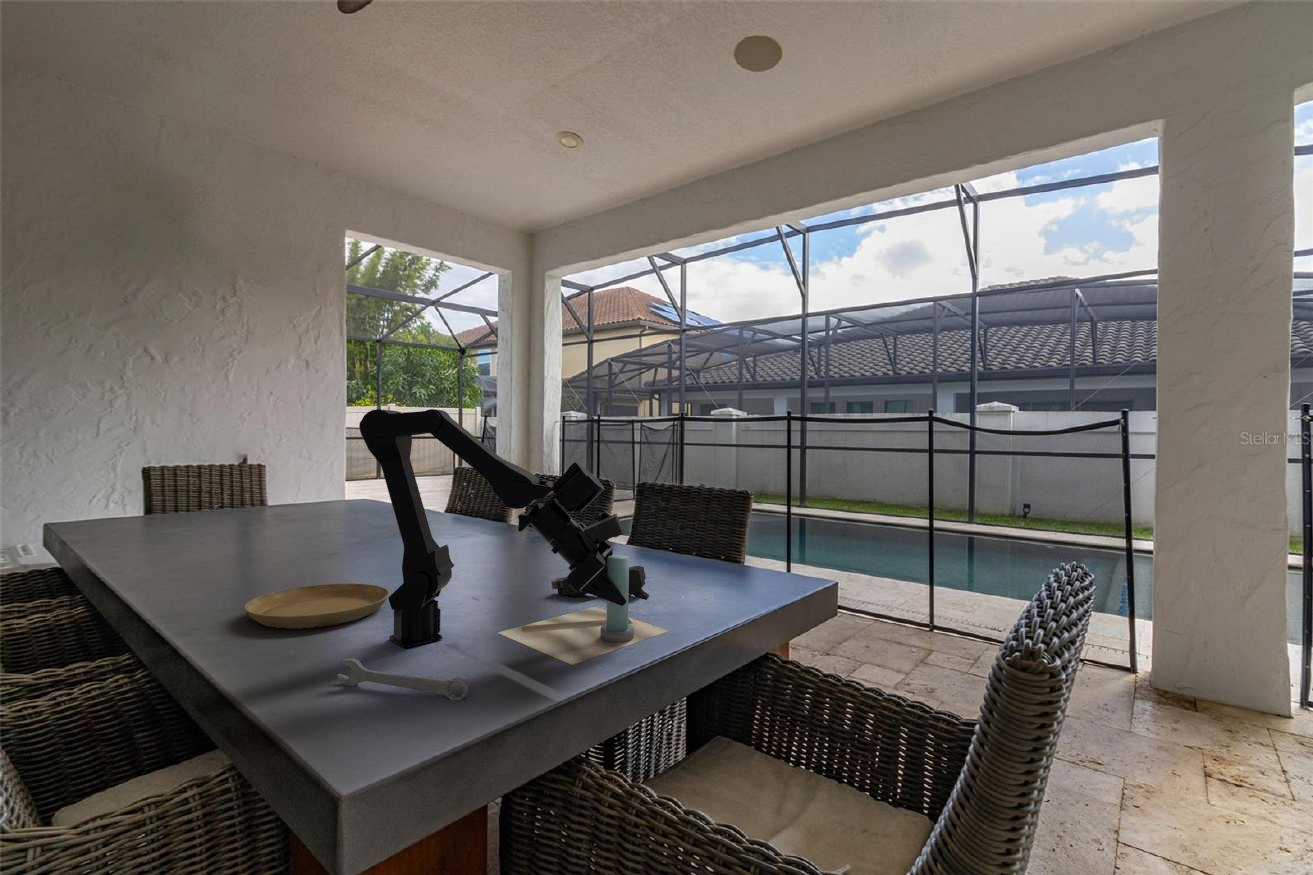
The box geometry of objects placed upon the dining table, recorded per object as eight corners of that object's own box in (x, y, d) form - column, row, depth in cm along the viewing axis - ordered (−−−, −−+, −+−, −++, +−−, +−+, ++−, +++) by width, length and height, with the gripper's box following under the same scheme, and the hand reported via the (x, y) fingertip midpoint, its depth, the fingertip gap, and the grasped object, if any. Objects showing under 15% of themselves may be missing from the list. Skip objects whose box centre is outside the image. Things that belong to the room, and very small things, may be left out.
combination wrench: (469, 674, 80) (343, 655, 85) (464, 678, 79) (336, 658, 84) (468, 702, 80) (342, 681, 85) (463, 707, 79) (335, 685, 84)
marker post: (616, 645, 98) (617, 562, 98) (593, 637, 102) (594, 557, 102) (640, 637, 102) (641, 557, 102) (617, 629, 106) (618, 552, 106)
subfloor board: (571, 671, 90) (571, 664, 90) (497, 638, 103) (497, 632, 103) (670, 636, 106) (670, 630, 106) (594, 611, 119) (594, 606, 119)
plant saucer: (339, 591, 132) (339, 576, 132) (415, 608, 121) (415, 591, 121) (216, 621, 111) (216, 603, 111) (295, 644, 100) (295, 624, 100)
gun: (649, 602, 126) (634, 556, 126) (563, 627, 130) (549, 582, 130) (653, 597, 130) (639, 552, 131) (571, 621, 134) (557, 577, 135)
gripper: (589, 504, 92) (660, 577, 93) (600, 492, 111) (659, 553, 111) (537, 555, 92) (608, 628, 93) (557, 534, 111) (616, 595, 111)
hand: (625, 597), depth 102 cm, fingers open, 7 cm apart
